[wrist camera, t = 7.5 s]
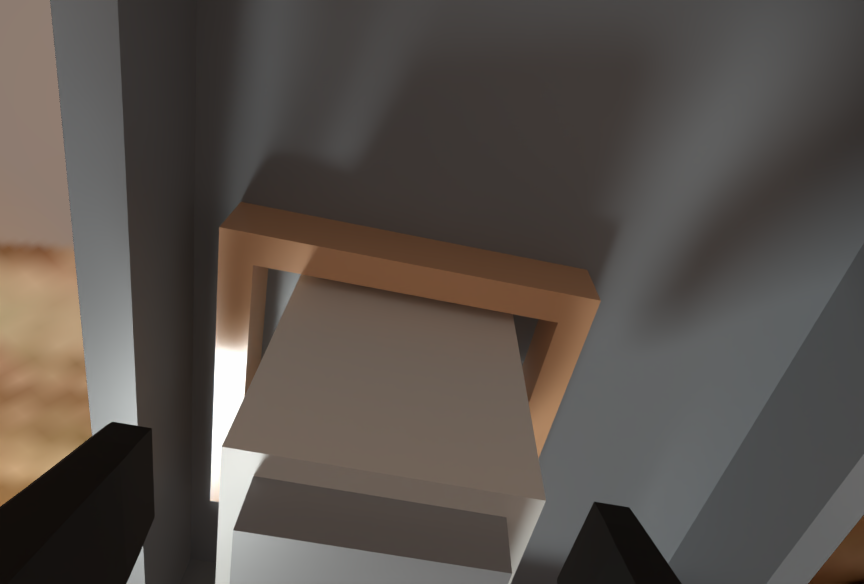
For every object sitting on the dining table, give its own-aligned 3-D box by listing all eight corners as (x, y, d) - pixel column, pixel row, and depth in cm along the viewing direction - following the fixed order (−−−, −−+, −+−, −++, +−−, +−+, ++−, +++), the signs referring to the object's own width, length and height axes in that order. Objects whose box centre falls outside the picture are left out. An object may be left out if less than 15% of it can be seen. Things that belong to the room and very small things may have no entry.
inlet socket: (227, 461, 14) (210, 500, 13) (240, 201, 11) (219, 227, 10) (499, 505, 15) (503, 547, 14) (587, 269, 12) (601, 301, 11)
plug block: (291, 412, 14) (192, 696, 8) (309, 255, 12) (196, 499, 6) (463, 441, 14) (472, 734, 9) (509, 294, 12) (556, 557, 7)
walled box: (166, 560, 17) (114, 671, 14) (151, -285, 8) (11, -398, 6) (643, 631, 18) (676, 746, 15) (1074, -49, 9) (1319, -50, 7)
